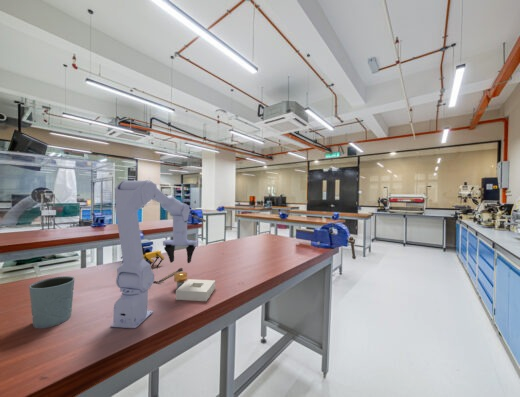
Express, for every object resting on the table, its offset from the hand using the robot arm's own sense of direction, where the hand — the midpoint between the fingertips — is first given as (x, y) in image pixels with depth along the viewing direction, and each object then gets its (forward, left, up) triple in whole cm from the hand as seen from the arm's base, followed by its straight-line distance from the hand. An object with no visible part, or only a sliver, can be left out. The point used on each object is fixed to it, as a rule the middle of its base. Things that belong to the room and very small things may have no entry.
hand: (180, 262), depth 94 cm
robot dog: (+23, +29, -11) cm, 39 cm away
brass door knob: (0, 0, -11) cm, 11 cm away
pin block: (-5, -9, -11) cm, 15 cm away
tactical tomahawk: (+13, +10, -12) cm, 20 cm away
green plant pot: (-29, +28, -11) cm, 42 cm away
